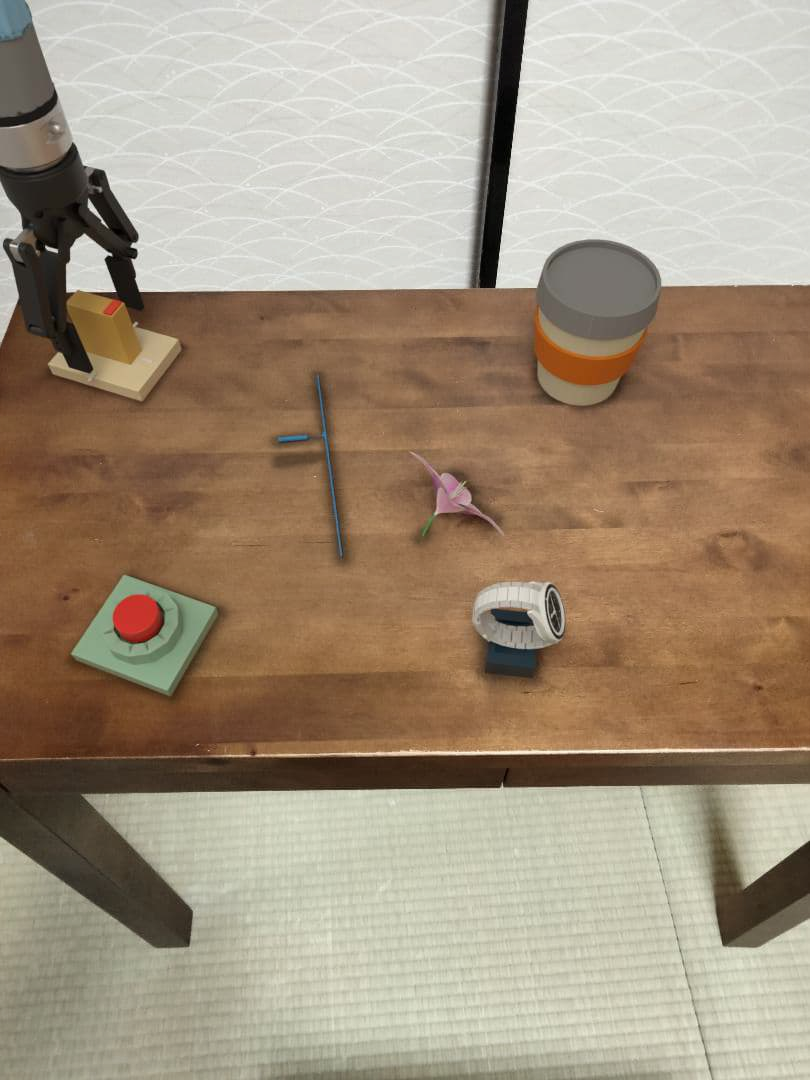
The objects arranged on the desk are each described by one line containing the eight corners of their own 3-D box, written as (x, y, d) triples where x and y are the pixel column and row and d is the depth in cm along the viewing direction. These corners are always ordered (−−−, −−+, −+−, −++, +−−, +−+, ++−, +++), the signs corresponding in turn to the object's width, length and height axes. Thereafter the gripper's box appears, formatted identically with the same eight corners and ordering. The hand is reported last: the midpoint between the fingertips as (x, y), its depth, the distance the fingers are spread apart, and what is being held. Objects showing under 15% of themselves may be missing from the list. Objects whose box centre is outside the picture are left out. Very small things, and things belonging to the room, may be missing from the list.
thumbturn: (85, 351, 94) (63, 302, 88) (97, 337, 96) (76, 287, 90) (130, 364, 93) (111, 315, 87) (141, 350, 94) (123, 300, 88)
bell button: (109, 634, 73) (103, 625, 72) (132, 597, 75) (127, 588, 74) (148, 648, 72) (142, 639, 71) (171, 611, 74) (166, 602, 73)
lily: (499, 586, 81) (539, 508, 76) (390, 571, 77) (425, 488, 72) (465, 516, 90) (499, 442, 85) (366, 499, 86) (395, 421, 81)
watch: (552, 685, 74) (573, 630, 65) (464, 674, 75) (473, 618, 66) (554, 630, 77) (574, 570, 68) (469, 620, 78) (478, 559, 69)
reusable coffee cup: (600, 334, 100) (629, 227, 87) (649, 407, 93) (687, 303, 80) (505, 357, 97) (520, 251, 85) (548, 433, 91) (571, 330, 78)
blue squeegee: (289, 561, 80) (342, 555, 80) (272, 377, 93) (318, 374, 94) (290, 568, 81) (342, 562, 82) (274, 386, 95) (318, 383, 95)
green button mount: (78, 664, 75) (63, 644, 72) (130, 585, 80) (118, 564, 77) (173, 700, 74) (162, 682, 70) (220, 617, 78) (212, 597, 75)
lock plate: (52, 383, 95) (43, 366, 93) (100, 326, 100) (93, 309, 98) (141, 410, 93) (135, 394, 91) (186, 351, 98) (181, 334, 96)
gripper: (-10, 233, 67) (80, 415, 86) (135, 96, 79) (186, 282, 98) (-84, 213, 69) (20, 396, 87) (69, 81, 81) (132, 268, 99)
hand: (107, 336), depth 93 cm, fingers open, 10 cm apart
